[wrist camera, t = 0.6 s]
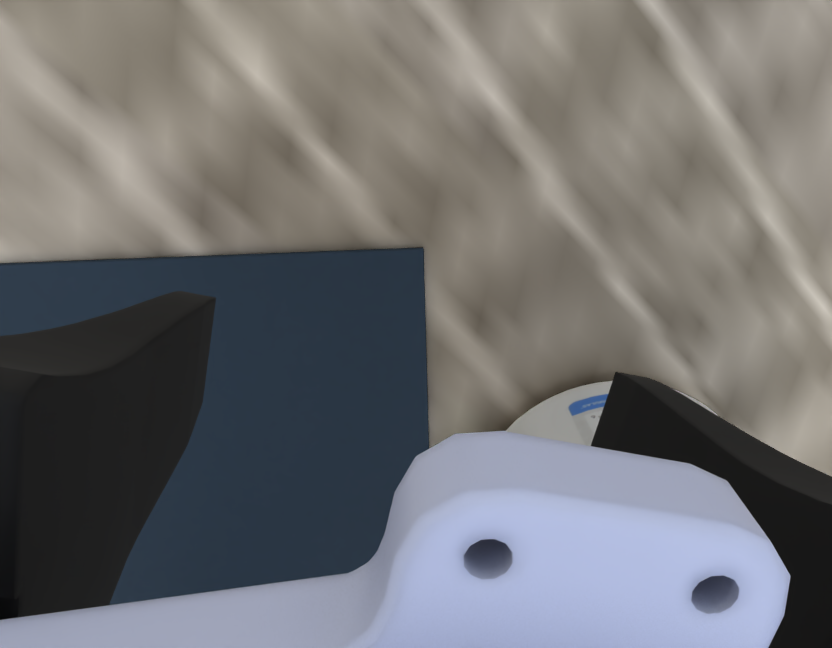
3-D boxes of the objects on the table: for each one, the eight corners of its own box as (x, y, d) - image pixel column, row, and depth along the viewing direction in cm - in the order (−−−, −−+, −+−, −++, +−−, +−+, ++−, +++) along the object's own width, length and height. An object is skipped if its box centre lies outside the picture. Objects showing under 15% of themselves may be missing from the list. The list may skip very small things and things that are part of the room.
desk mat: (434, 656, 29) (434, 661, 29) (-104, 682, 29) (-107, 686, 29) (423, 247, 23) (423, 249, 23) (-256, 273, 23) (-261, 275, 23)
